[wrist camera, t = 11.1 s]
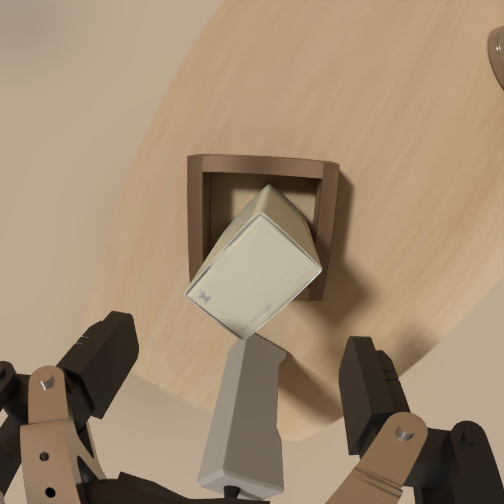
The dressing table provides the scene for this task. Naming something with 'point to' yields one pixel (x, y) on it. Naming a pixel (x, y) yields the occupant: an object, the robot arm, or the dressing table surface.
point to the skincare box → (256, 265)
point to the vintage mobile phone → (246, 425)
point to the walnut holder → (207, 163)
